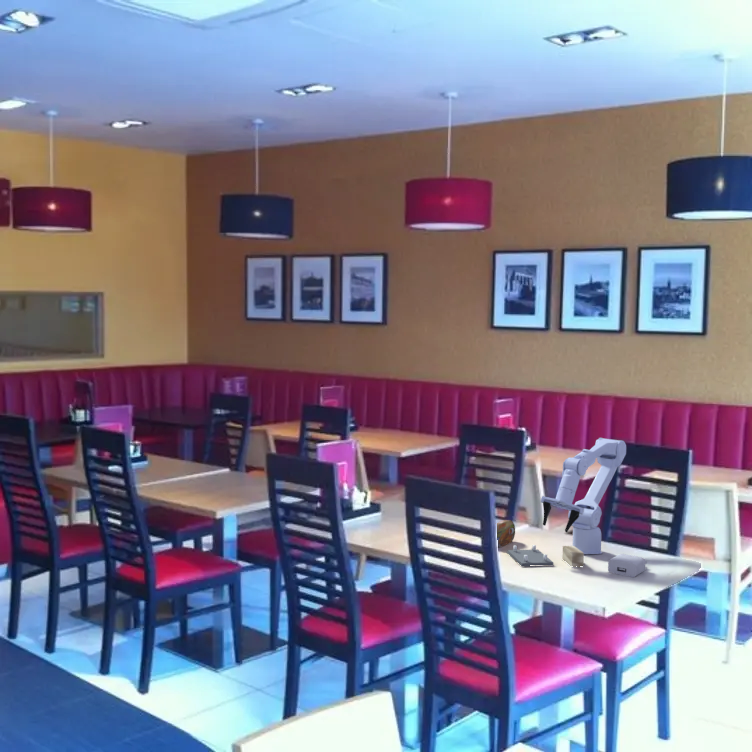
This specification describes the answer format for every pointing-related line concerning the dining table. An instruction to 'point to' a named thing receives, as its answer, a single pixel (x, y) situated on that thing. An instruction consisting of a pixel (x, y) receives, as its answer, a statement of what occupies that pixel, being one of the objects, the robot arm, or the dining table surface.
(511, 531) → the tin
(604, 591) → the dining table surface
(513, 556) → the standoff plate
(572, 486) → the robot arm
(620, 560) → the charger
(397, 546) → the dining table surface
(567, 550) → the birch block
